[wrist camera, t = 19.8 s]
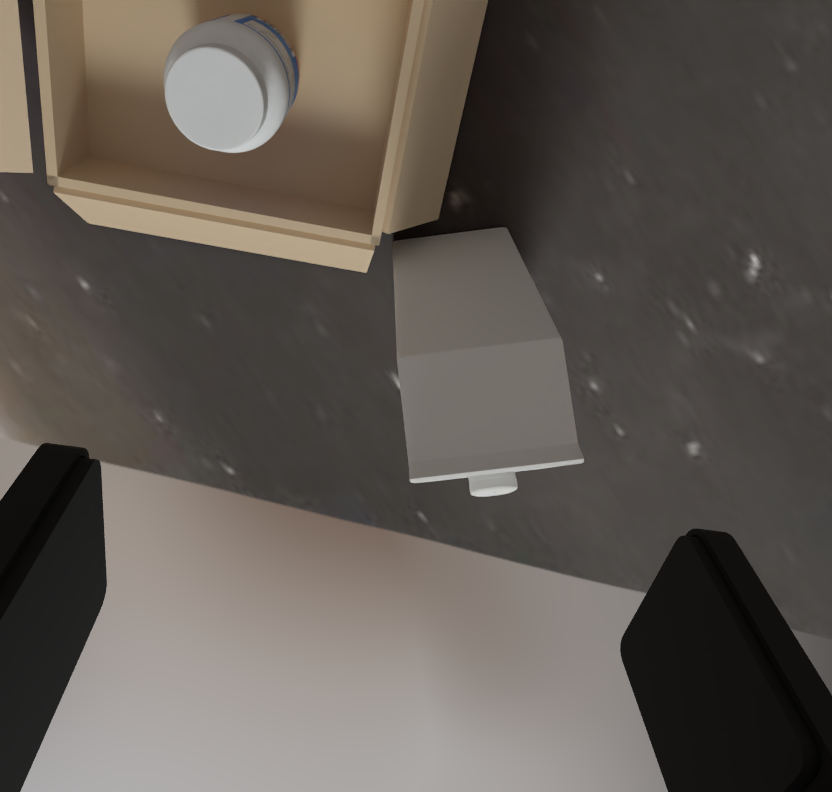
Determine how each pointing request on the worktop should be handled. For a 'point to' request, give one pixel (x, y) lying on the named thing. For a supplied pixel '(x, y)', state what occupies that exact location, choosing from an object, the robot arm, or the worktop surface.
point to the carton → (286, 150)
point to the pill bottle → (231, 82)
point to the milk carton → (478, 363)
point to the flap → (13, 95)
